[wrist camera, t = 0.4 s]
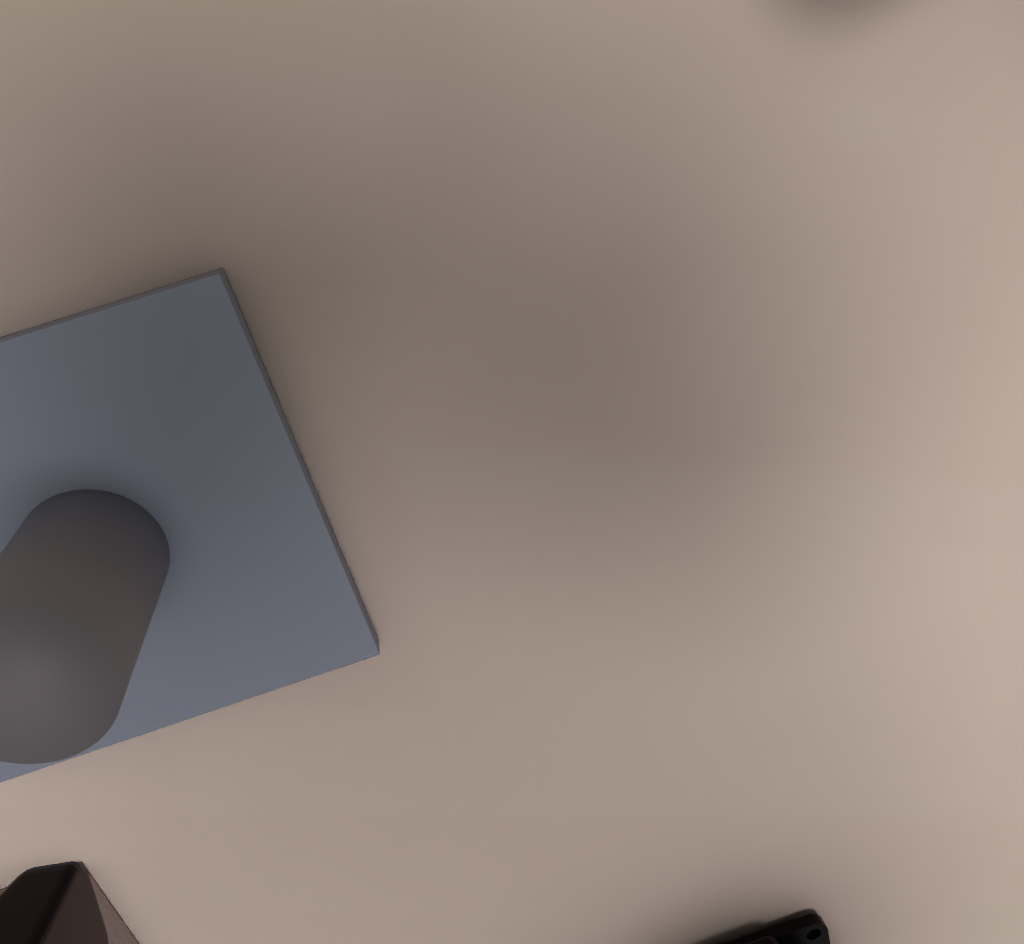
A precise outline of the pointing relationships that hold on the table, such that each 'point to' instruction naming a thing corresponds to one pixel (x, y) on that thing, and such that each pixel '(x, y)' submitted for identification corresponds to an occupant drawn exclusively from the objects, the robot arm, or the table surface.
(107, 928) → the collar
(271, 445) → the grey peg stand
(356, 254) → the table surface
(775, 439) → the table surface
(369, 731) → the table surface
